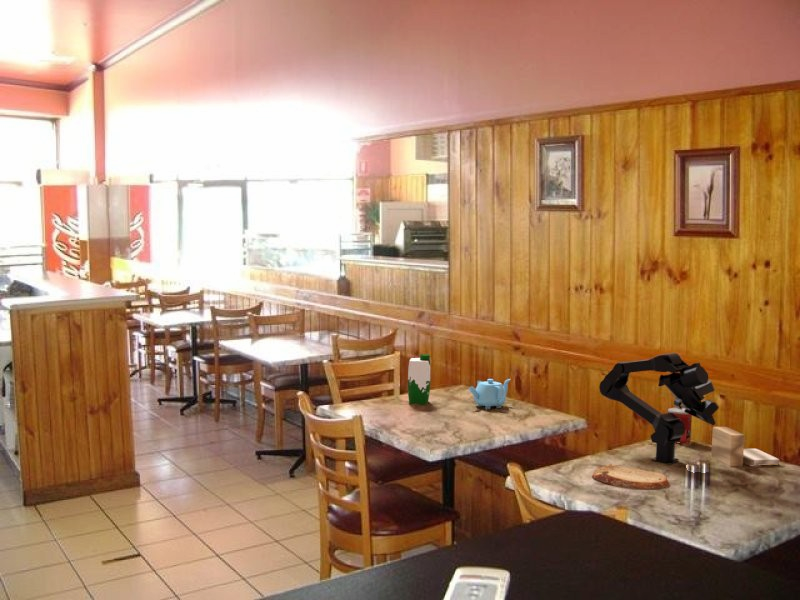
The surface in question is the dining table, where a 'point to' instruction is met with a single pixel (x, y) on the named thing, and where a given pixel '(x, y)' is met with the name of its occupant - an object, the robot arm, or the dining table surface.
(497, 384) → the teapot
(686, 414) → the canned food
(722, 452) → the light brown wooden block
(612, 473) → the bread slice
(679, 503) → the dining table surface
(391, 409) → the dining table surface
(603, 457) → the dining table surface
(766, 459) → the board
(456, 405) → the dining table surface
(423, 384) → the milk carton
